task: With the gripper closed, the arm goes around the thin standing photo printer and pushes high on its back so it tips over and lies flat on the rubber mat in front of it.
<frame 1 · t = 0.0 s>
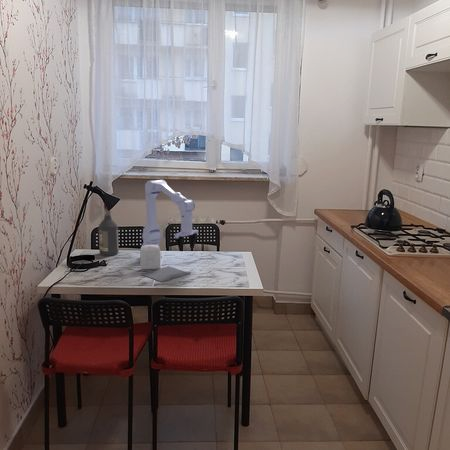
hand: (186, 249, 227), 10 cm above the table, tool pointing down, fingers open, 7 cm apart
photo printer: (150, 268, 227), on the table, touching mat
liquor: (109, 254, 253), on the table
mat: (165, 274, 219), on the table
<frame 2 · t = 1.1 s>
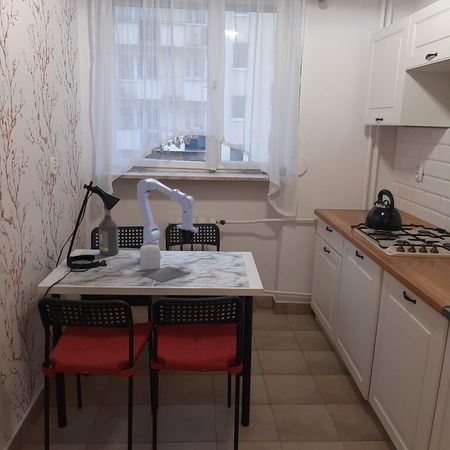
hand: (187, 243, 238), 10 cm above the table, tool pointing down, fingers closed
nothing on the table moved.
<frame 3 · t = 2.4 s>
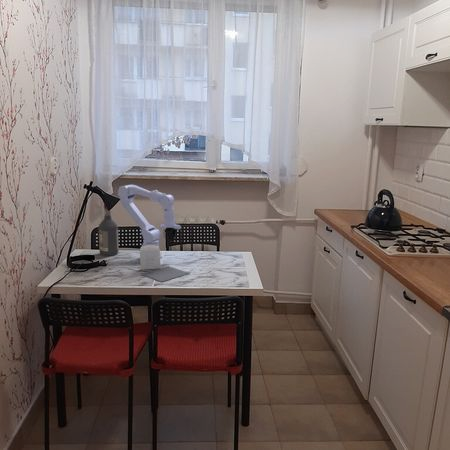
hand: (172, 241, 241), 11 cm above the table, tool pointing down, fingers closed
nothing on the table moved.
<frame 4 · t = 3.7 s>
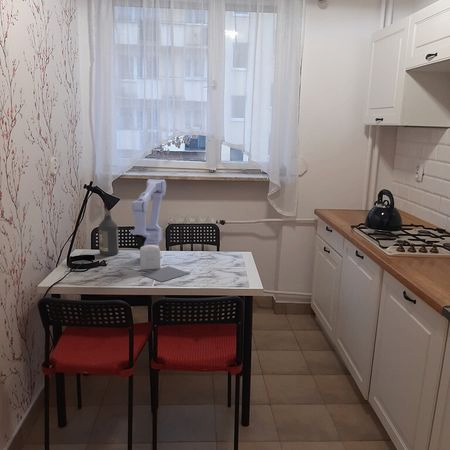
hand: (140, 249, 230), 9 cm above the table, tool pointing down, fingers closed
nothing on the table moved.
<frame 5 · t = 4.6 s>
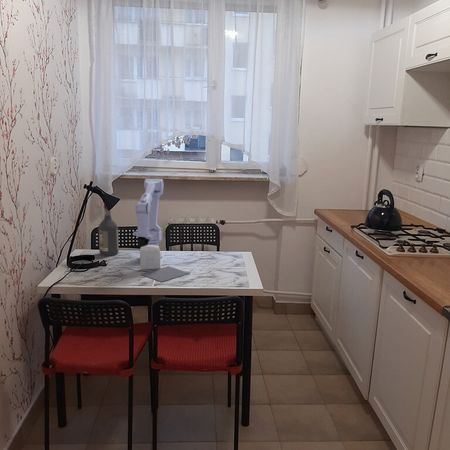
hand: (143, 251, 229), 8 cm above the table, tool pointing down, fingers closed
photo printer: (150, 268, 227), on the table, touching gripper, mat
everything else where it was.
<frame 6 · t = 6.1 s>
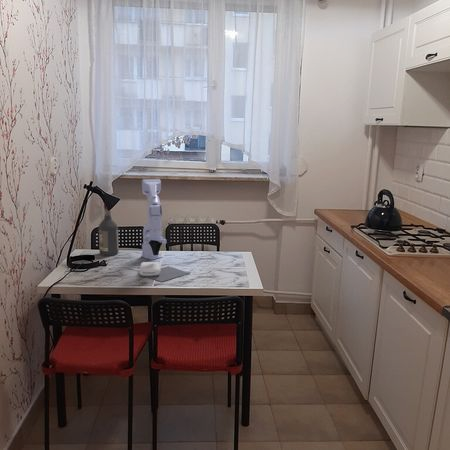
hand: (155, 255, 222), 8 cm above the table, tool pointing down, fingers closed
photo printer: (150, 265, 225), point 3 cm above the table, touching mat
everything else where it was.
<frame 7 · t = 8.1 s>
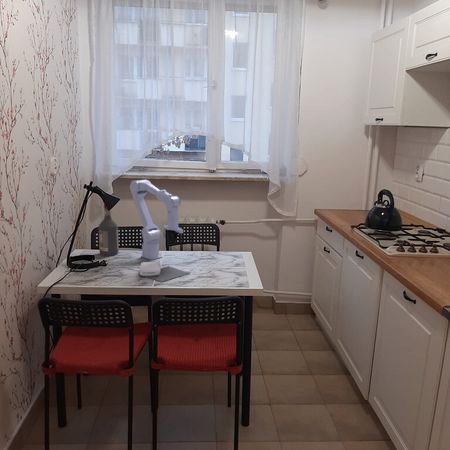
hand: (172, 244, 236), 10 cm above the table, tool pointing down, fingers closed
nothing on the table moved.
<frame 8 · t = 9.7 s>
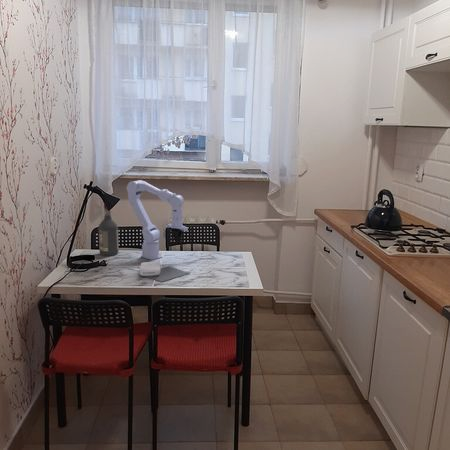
hand: (177, 242, 241), 10 cm above the table, tool pointing down, fingers closed
nothing on the table moved.
at the end: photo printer tilted 90°; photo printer touching mat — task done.
